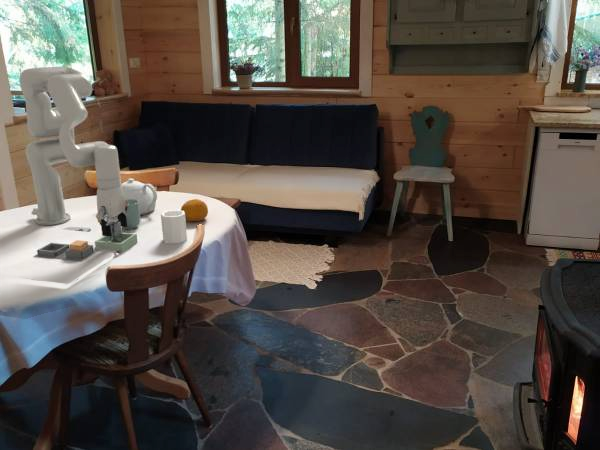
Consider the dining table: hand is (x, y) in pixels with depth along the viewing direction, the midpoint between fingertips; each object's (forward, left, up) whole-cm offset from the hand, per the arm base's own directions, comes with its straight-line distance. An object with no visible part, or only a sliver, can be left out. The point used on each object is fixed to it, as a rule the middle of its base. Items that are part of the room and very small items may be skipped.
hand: (115, 231), depth 191 cm
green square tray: (0, 0, -6) cm, 6 cm away
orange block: (-6, -12, -3) cm, 14 cm away
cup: (-6, +19, -6) cm, 21 cm away
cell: (0, 0, -5) cm, 5 cm away
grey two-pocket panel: (-11, -12, -6) cm, 17 cm away
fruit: (+14, +33, -6) cm, 36 cm away
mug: (+16, +13, -6) cm, 21 cm away
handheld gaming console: (-23, +5, -6) cm, 24 cm away
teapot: (-15, +38, -6) cm, 41 cm away
